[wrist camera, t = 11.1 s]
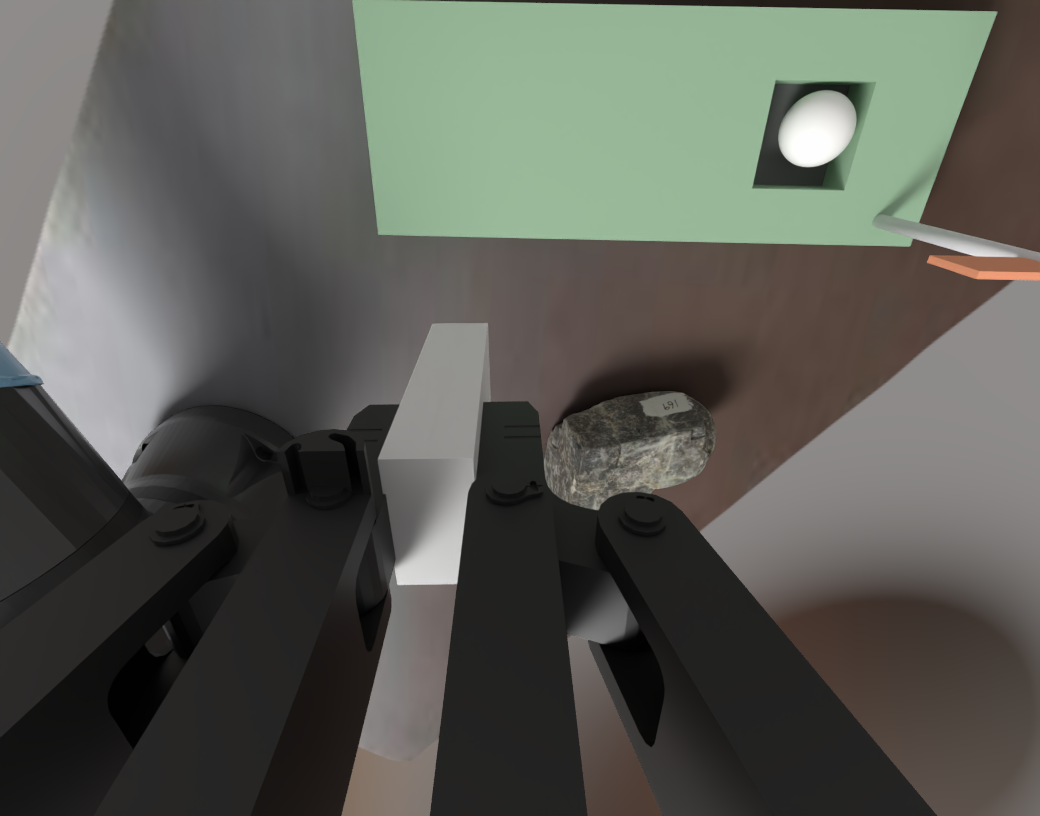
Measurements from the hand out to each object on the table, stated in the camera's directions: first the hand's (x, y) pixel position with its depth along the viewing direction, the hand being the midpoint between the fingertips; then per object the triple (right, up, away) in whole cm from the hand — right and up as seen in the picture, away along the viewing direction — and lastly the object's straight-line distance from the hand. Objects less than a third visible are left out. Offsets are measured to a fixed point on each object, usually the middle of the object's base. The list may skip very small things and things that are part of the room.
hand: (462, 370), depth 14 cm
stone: (+10, -3, +29) cm, 31 cm away
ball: (+19, +15, +16) cm, 29 cm away
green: (+10, +16, +18) cm, 26 cm away
